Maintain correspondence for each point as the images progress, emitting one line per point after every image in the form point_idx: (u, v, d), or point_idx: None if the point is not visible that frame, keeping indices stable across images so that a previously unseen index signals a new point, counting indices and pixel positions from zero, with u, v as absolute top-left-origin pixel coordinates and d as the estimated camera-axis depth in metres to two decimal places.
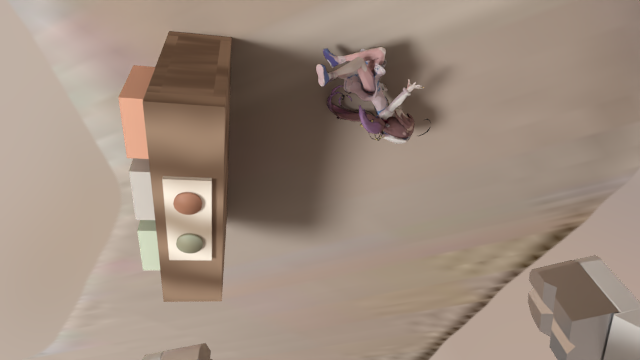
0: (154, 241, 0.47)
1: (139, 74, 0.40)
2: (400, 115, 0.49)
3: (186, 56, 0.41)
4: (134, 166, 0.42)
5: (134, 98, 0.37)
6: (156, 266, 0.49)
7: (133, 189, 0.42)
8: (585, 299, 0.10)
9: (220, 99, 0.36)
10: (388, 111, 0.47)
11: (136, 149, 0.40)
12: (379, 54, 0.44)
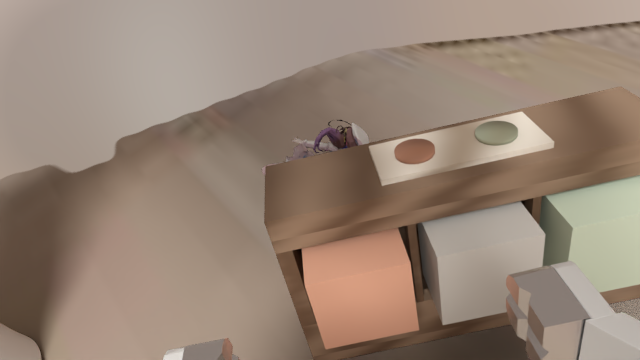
0: (585, 204, 0.26)
1: None
2: None
3: None
4: (436, 262, 0.26)
5: (303, 270, 0.26)
6: None
7: (473, 246, 0.25)
8: (558, 305, 0.10)
9: None
10: (328, 145, 0.49)
11: (390, 255, 0.26)
12: None
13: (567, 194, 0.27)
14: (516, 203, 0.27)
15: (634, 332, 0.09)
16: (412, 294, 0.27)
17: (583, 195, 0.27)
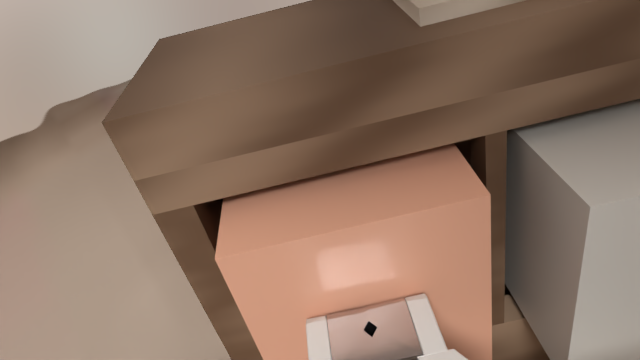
0: None
1: None
2: None
3: None
4: (576, 224, 0.09)
5: (220, 225, 0.11)
6: None
7: None
8: (398, 340, 0.10)
9: None
10: None
11: (432, 182, 0.10)
12: None
13: None
14: None
15: None
16: (486, 280, 0.11)
17: None
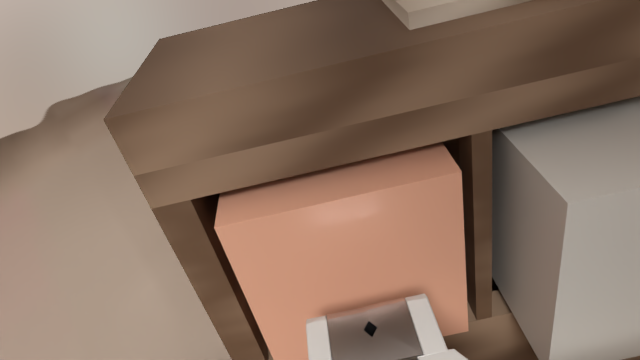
0: None
1: None
2: None
3: None
4: (556, 220, 0.10)
5: (219, 200, 0.12)
6: None
7: None
8: (398, 340, 0.10)
9: None
10: None
11: (411, 161, 0.11)
12: None
13: None
14: None
15: None
16: (460, 252, 0.12)
17: None
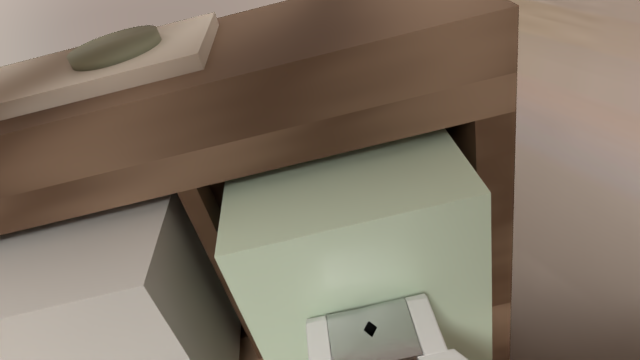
0: (282, 198, 0.11)
1: None
2: None
3: None
4: None
5: None
6: (440, 163, 0.11)
7: None
8: (398, 340, 0.10)
9: None
10: None
11: None
12: None
13: (267, 176, 0.12)
14: (157, 206, 0.12)
15: None
16: None
17: (296, 176, 0.12)
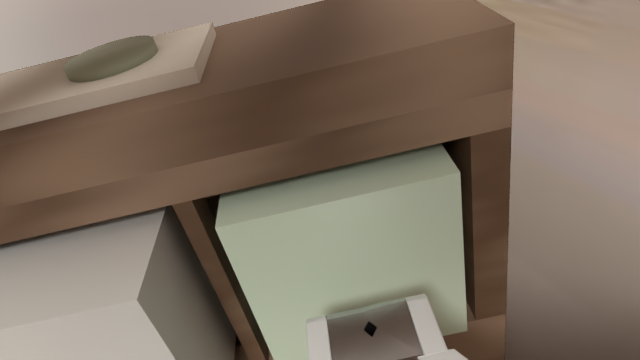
0: None
1: None
2: None
3: None
4: None
5: None
6: (418, 148, 0.12)
7: None
8: (398, 340, 0.10)
9: None
10: None
11: None
12: None
13: None
14: (153, 217, 0.12)
15: None
16: None
17: None
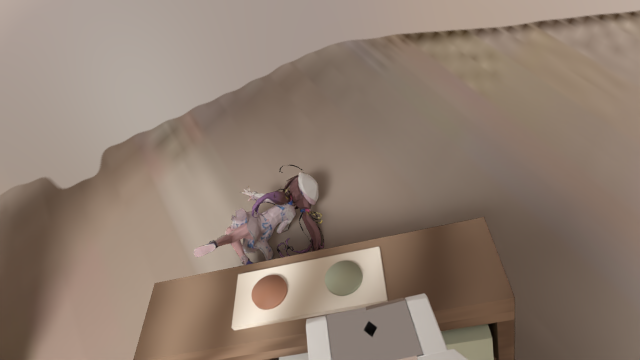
0: None
1: None
2: (285, 192, 0.52)
3: None
4: None
5: None
6: None
7: None
8: (398, 340, 0.10)
9: None
10: None
11: None
12: (228, 230, 0.50)
13: None
14: None
15: None
16: None
17: None
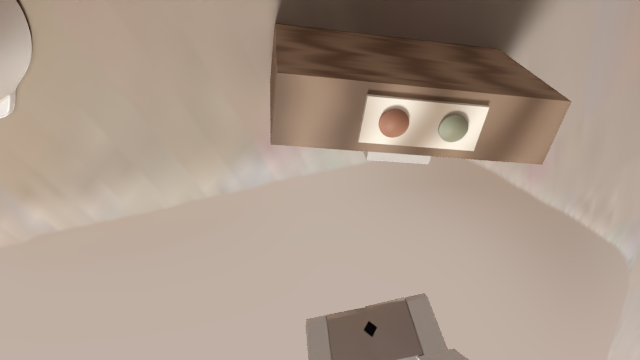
0: None
1: None
2: None
3: (272, 79, 0.43)
4: (365, 152, 0.42)
5: None
6: None
7: (389, 159, 0.42)
8: (398, 340, 0.10)
9: (276, 72, 0.35)
10: None
11: None
12: None
13: None
14: None
15: None
16: None
17: None
